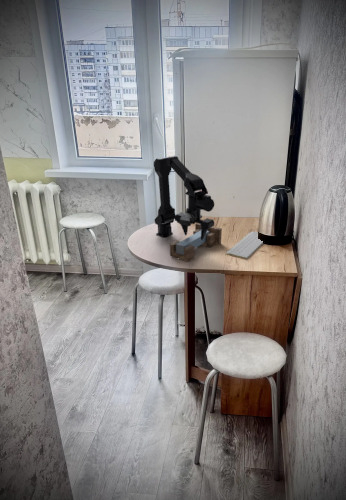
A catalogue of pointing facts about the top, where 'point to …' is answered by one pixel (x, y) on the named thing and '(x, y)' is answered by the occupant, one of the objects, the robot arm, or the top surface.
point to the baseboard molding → (246, 246)
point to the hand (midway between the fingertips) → (193, 237)
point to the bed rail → (191, 242)
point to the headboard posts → (211, 240)
